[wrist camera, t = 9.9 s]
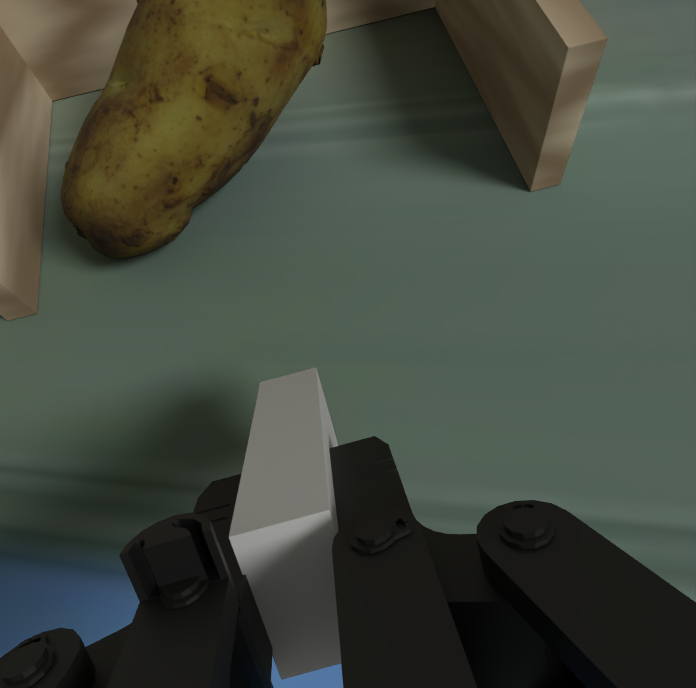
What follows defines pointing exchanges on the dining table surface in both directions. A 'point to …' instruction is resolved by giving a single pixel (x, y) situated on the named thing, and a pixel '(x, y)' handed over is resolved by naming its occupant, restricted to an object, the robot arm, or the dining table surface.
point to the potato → (184, 113)
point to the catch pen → (342, 13)
